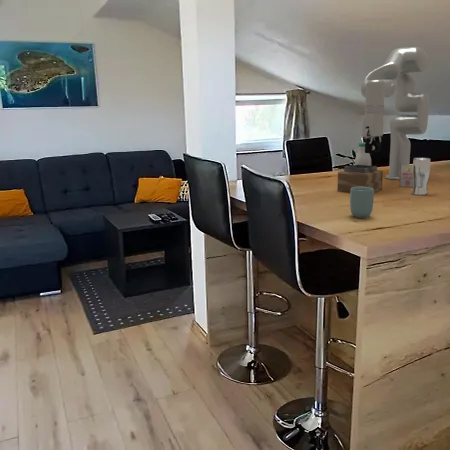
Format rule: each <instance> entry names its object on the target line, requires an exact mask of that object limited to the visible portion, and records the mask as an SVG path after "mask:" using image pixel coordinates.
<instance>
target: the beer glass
mask: <svg viewBox="0 0 450 450" xmlns="http://www.w3.org/2000/svg"><path fill="white" fill-rule="evenodd" d="M412 162H413V163H412V165H413V168H412V174H413V187H412V191H411V194H412V195H414V196H426V194H427V195H428V189H427V187H428V182H429V181H428V180H429V177H430V173H431V158H429V157H413V161H412Z"/></svg>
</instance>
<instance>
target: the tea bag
mask: <svg viewBox="0 0 450 450" xmlns="http://www.w3.org/2000/svg"><path fill="white" fill-rule="evenodd" d="M412 168H413V164H409V165H400V180H398V181H399V184H398V187H399V188H413V174H412Z"/></svg>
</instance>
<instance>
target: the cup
mask: <svg viewBox="0 0 450 450" xmlns="http://www.w3.org/2000/svg"><path fill="white" fill-rule="evenodd" d="M349 195H350V196H349V206H350V208H349V210H350V213H351V215H352V216H353V217H354V218H361V219H366V218H368V217H371V215H372V212H373V207H374V199H375V196H374V195H375V192H374V189H373V188H371V187H352V188H351V190H350V194H349Z"/></svg>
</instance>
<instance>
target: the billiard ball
mask: <svg viewBox="0 0 450 450" xmlns="http://www.w3.org/2000/svg"><path fill="white" fill-rule="evenodd" d="M371 144H372V153H369V154H370V155H376V154H378V153H379V150H380V151H381V143H380V144H379V142H377V141H375V140H374V139H372V143H371Z"/></svg>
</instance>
